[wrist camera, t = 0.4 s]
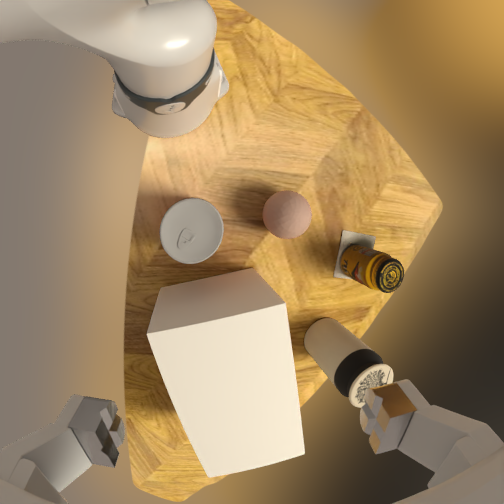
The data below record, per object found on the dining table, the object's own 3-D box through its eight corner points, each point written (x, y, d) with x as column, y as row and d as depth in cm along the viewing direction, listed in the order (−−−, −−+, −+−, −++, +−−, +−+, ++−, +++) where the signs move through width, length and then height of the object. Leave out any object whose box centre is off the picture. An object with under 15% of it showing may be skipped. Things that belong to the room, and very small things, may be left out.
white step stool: (160, 287, 46) (146, 333, 29) (252, 267, 48) (285, 303, 31) (200, 411, 51) (208, 477, 34) (275, 394, 53) (304, 453, 37)
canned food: (160, 241, 44) (151, 254, 34) (175, 192, 44) (170, 189, 33) (207, 255, 46) (212, 272, 36) (222, 206, 45) (232, 208, 35)
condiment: (333, 276, 51) (369, 297, 40) (342, 229, 50) (382, 239, 39) (365, 280, 53) (404, 299, 42) (374, 236, 52) (416, 246, 40)
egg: (273, 244, 48) (290, 253, 40) (248, 207, 46) (261, 209, 38) (308, 218, 49) (330, 223, 41) (284, 182, 47) (303, 179, 39)
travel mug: (298, 354, 53) (341, 412, 35) (309, 315, 52) (359, 364, 34) (335, 355, 55) (383, 405, 37) (346, 318, 54) (402, 361, 36)
